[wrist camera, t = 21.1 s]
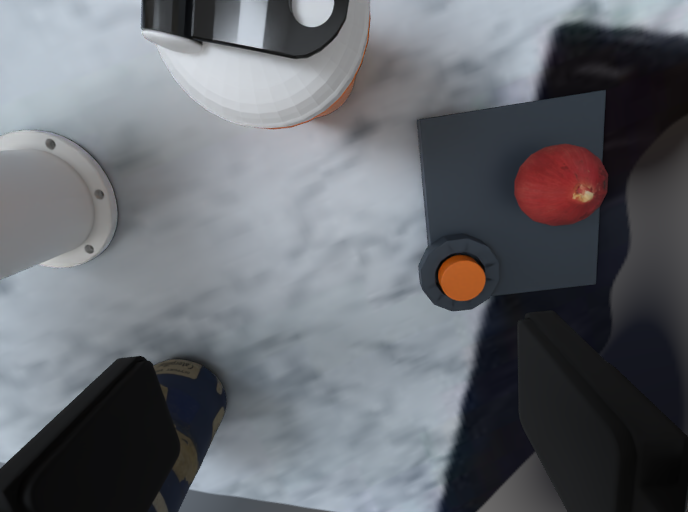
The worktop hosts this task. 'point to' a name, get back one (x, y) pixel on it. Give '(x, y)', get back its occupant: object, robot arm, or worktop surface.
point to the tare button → (461, 278)
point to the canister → (188, 423)
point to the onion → (560, 184)
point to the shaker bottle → (261, 55)
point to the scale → (504, 197)
